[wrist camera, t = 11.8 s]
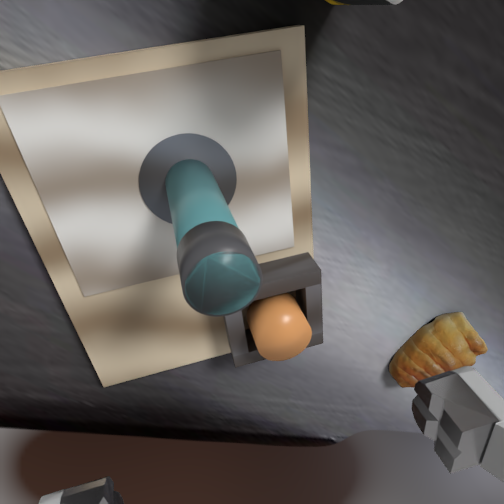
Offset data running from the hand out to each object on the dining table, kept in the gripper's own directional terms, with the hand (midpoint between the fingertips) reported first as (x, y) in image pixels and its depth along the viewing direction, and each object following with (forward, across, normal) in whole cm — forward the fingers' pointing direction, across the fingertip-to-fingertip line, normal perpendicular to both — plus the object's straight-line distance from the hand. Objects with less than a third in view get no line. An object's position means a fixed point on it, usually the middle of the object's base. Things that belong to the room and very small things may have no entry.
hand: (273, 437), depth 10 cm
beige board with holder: (+19, +1, +4) cm, 19 cm away
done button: (+16, -4, +11) cm, 20 cm away
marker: (+18, 0, 0) cm, 18 cm away
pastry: (+19, -21, +23) cm, 36 cm away
